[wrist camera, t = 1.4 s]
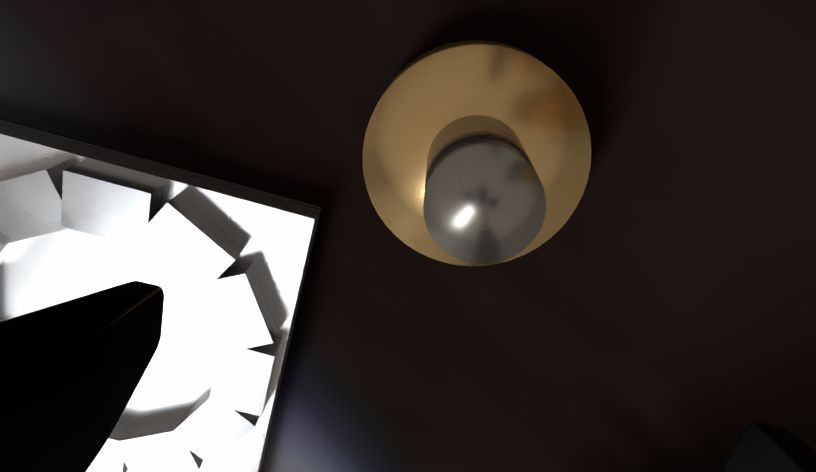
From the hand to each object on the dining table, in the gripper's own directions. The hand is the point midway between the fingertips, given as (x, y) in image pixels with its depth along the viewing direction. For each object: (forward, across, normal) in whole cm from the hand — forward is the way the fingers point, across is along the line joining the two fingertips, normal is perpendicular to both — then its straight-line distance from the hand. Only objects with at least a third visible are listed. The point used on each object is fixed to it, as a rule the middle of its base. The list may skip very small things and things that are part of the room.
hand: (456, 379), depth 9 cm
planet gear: (+12, -1, 0) cm, 12 cm away
